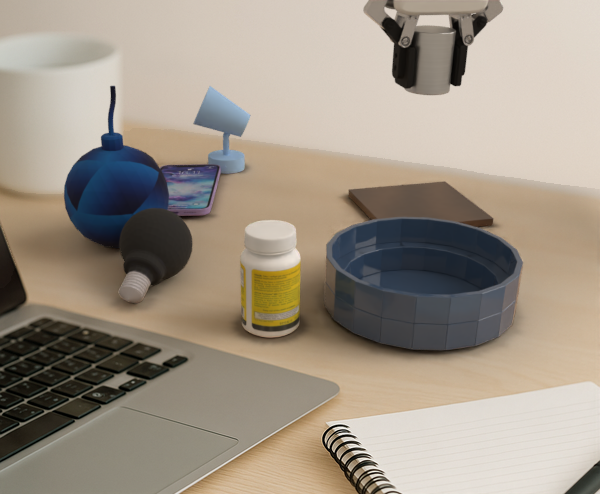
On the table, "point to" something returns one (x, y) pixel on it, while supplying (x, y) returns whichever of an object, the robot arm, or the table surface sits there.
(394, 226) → the bowl
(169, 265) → the light bulb
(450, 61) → the tin
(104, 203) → the bomb
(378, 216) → the mat
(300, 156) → the table surface
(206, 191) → the smartphone
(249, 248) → the supplement bottle
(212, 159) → the spotlight
